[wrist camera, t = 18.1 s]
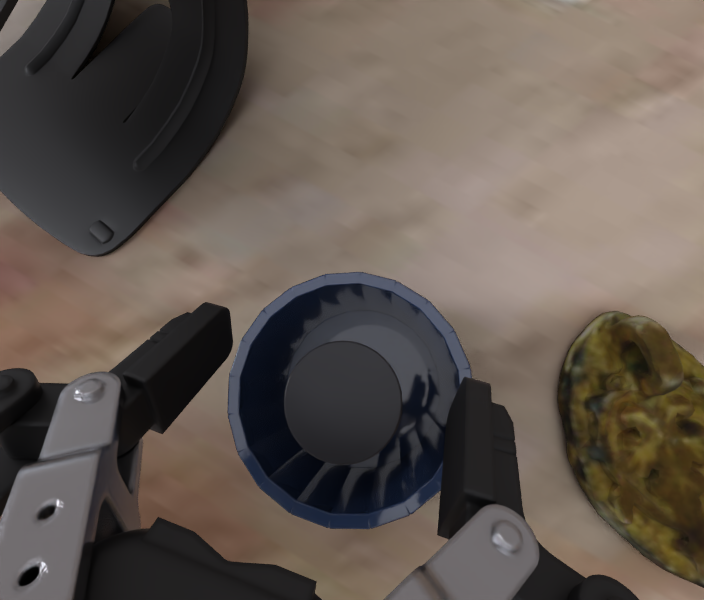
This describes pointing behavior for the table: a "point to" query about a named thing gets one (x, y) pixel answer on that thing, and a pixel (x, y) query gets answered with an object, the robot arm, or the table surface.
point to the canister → (343, 402)
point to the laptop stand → (113, 112)
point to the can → (413, 375)
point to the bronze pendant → (639, 436)
